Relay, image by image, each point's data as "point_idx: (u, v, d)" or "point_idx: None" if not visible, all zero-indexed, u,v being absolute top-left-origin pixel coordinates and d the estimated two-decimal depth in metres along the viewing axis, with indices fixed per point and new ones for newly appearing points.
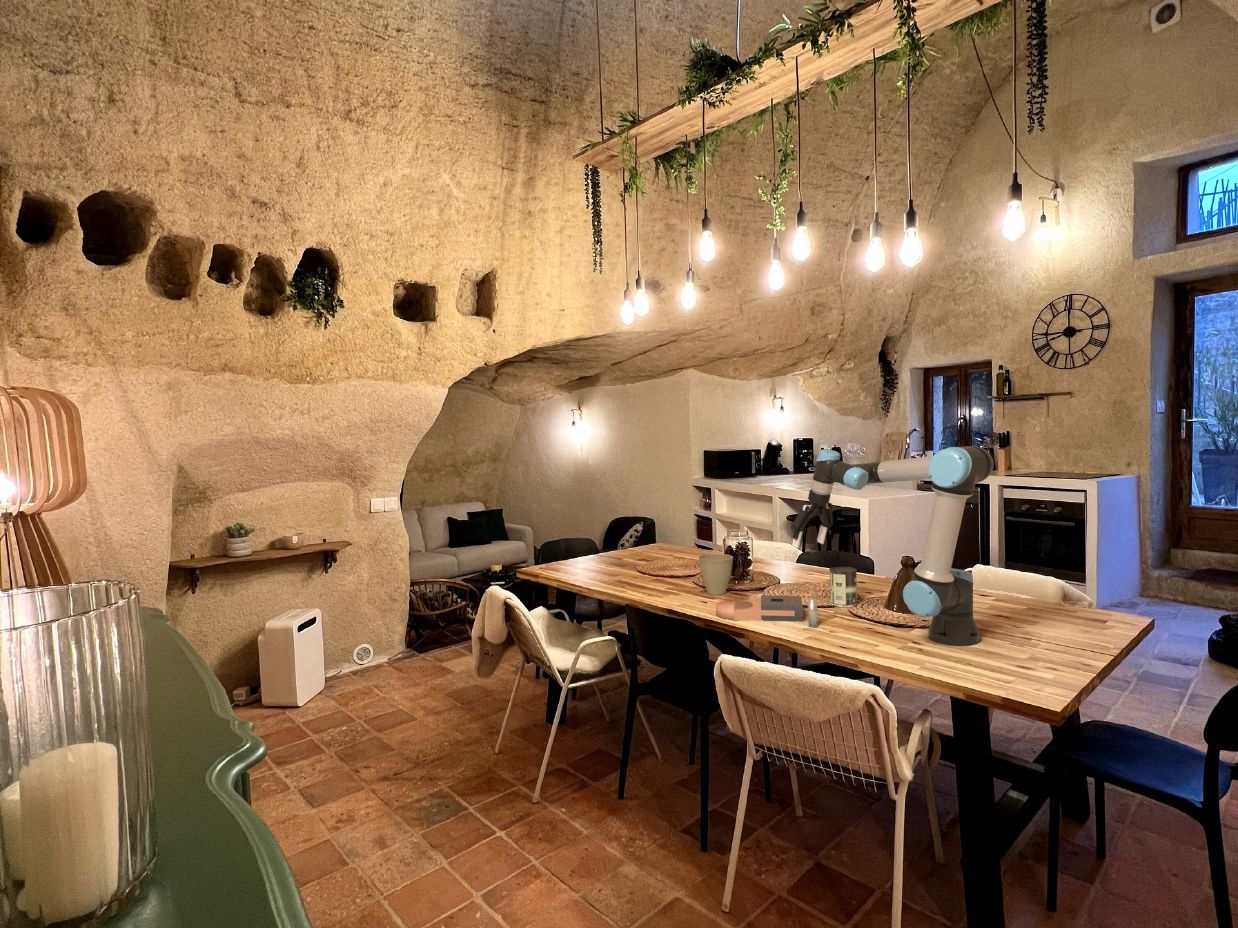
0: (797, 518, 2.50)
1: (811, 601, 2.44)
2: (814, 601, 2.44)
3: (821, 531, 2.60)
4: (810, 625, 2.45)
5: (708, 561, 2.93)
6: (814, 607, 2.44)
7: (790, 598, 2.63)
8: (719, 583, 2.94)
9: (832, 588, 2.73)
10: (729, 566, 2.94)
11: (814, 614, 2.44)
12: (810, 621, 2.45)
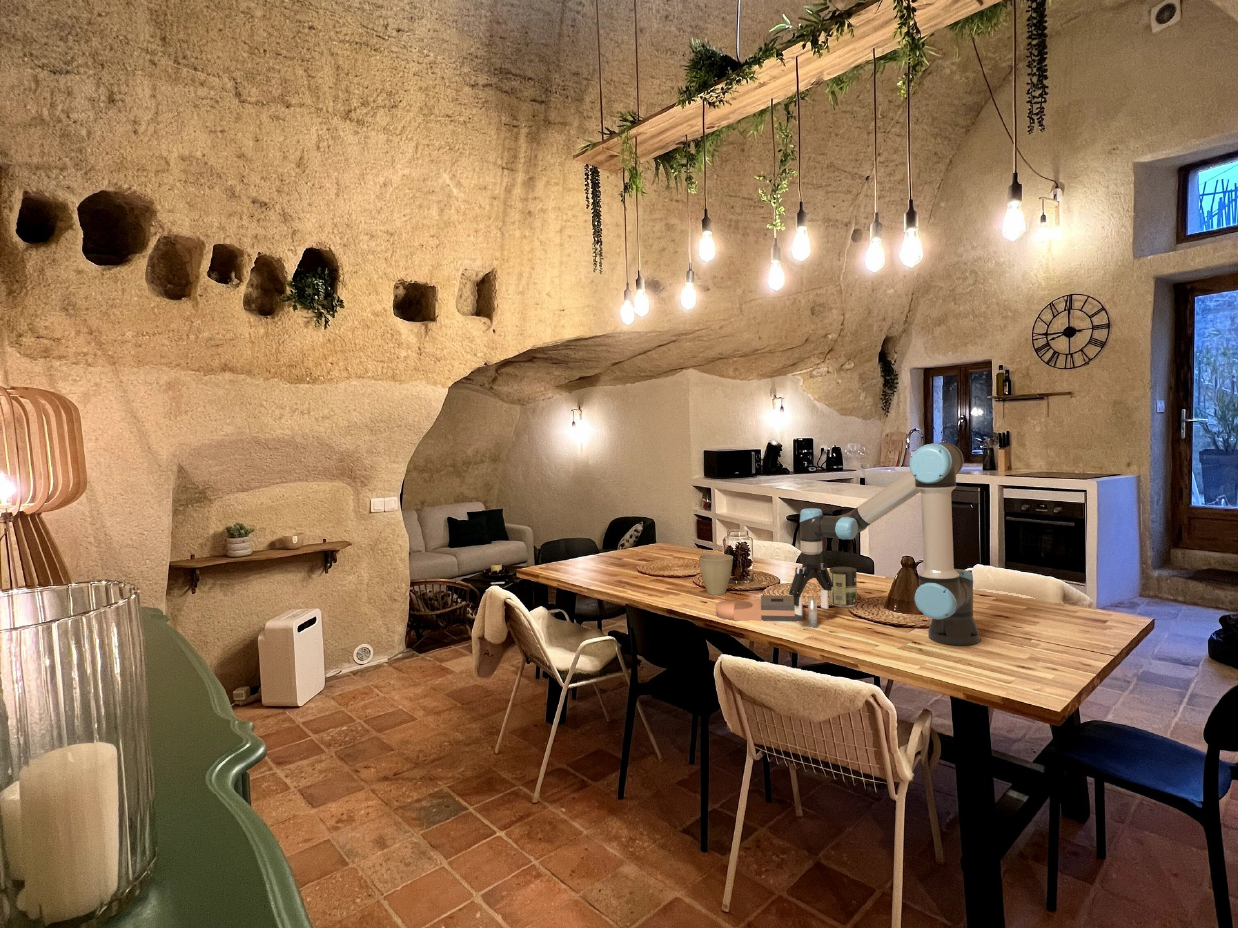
0: (793, 583, 2.41)
1: (811, 601, 2.44)
2: (814, 601, 2.44)
3: (822, 595, 2.50)
4: (810, 625, 2.45)
5: (708, 561, 2.93)
6: (814, 607, 2.44)
7: (790, 598, 2.63)
8: (719, 583, 2.94)
9: (832, 588, 2.73)
10: (729, 566, 2.94)
11: (814, 614, 2.44)
12: (810, 621, 2.45)
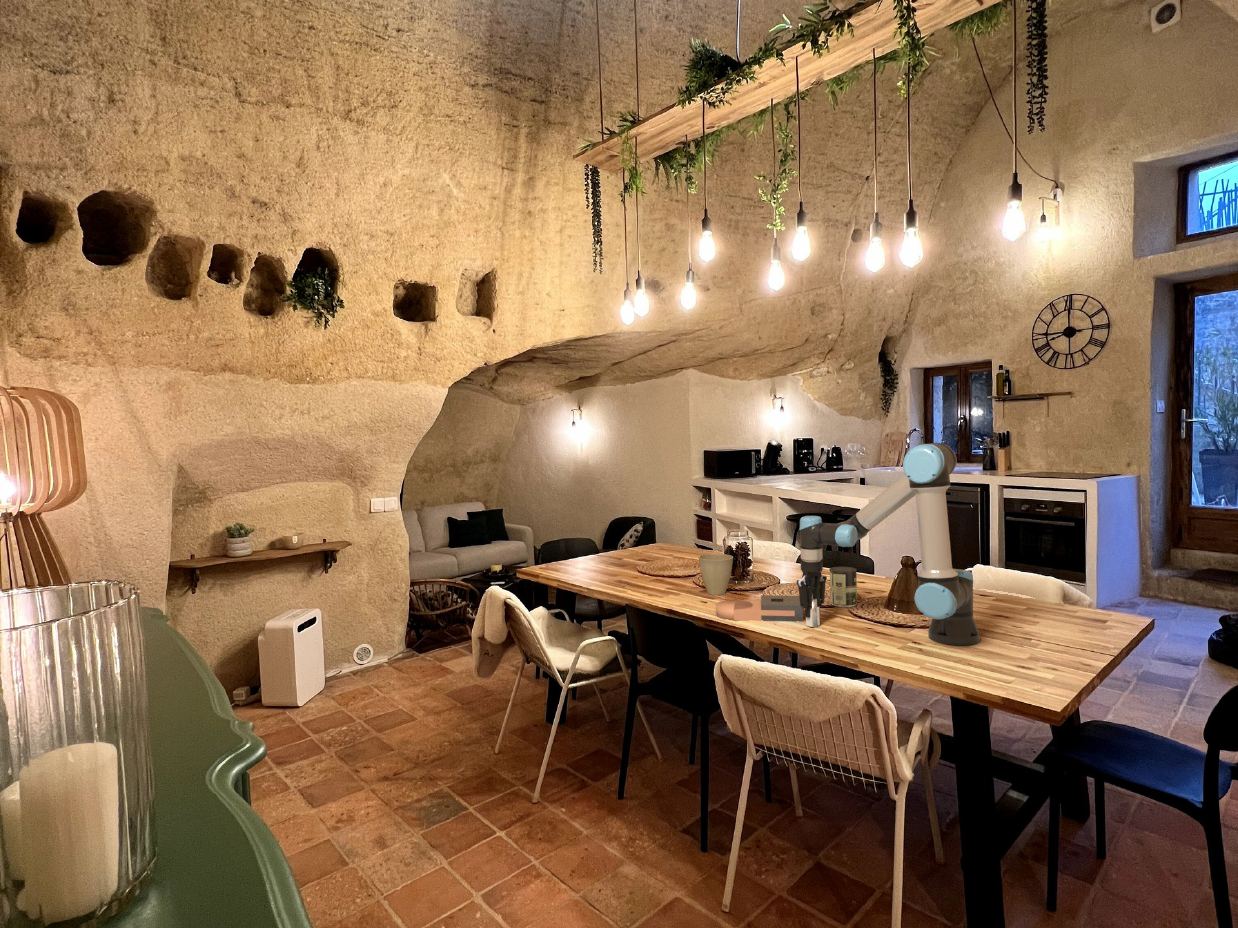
0: (800, 596, 2.43)
1: None
2: (814, 601, 2.44)
3: None
4: None
5: (708, 561, 2.93)
6: (814, 607, 2.44)
7: (790, 598, 2.63)
8: (719, 583, 2.94)
9: (832, 588, 2.73)
10: (729, 566, 2.94)
11: (814, 614, 2.45)
12: None
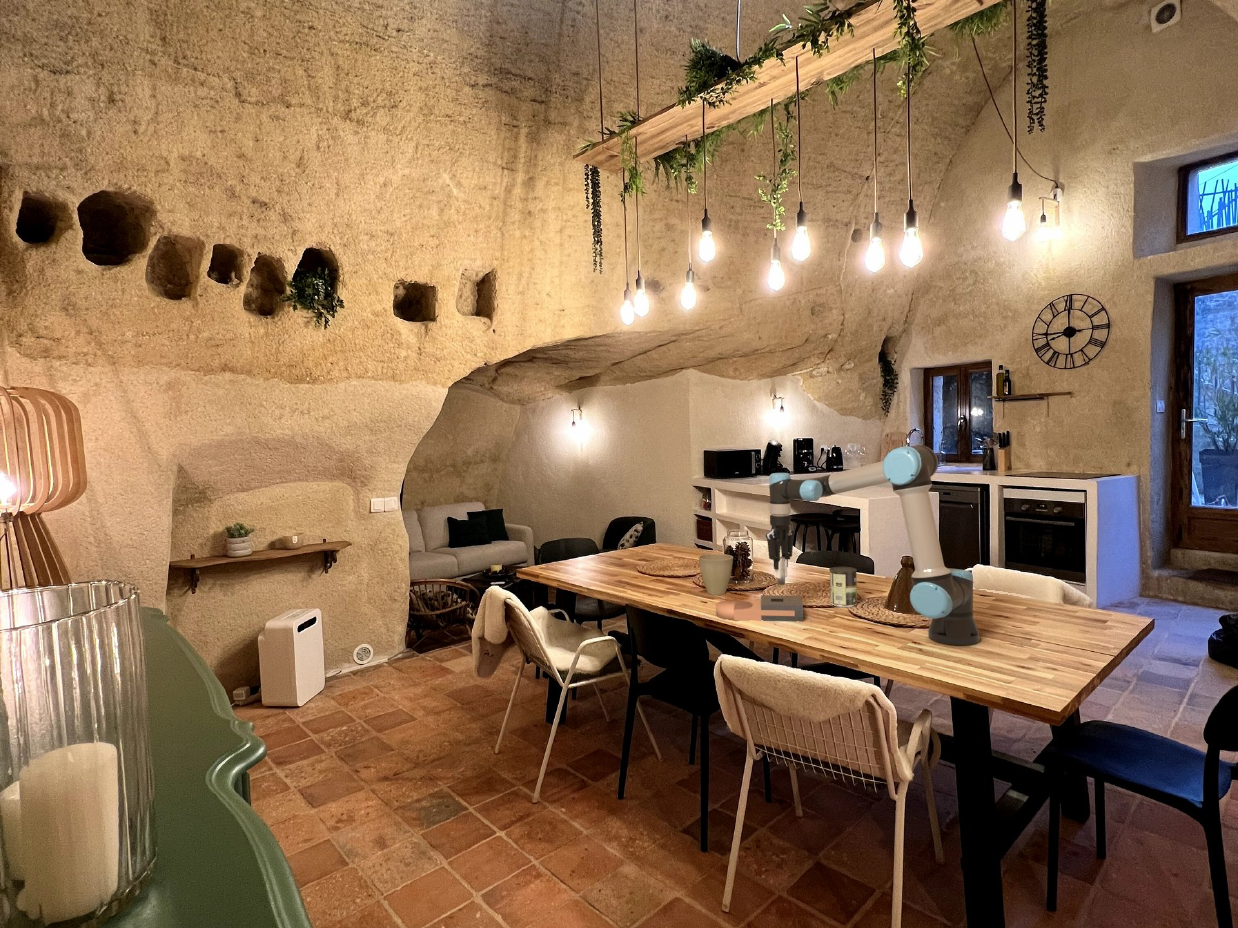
0: (769, 548, 2.55)
1: None
2: (782, 559, 2.56)
3: None
4: (778, 582, 2.57)
5: (708, 561, 2.93)
6: (782, 565, 2.57)
7: (790, 598, 2.63)
8: (719, 583, 2.94)
9: (832, 588, 2.73)
10: (729, 566, 2.94)
11: (782, 572, 2.57)
12: (778, 578, 2.57)
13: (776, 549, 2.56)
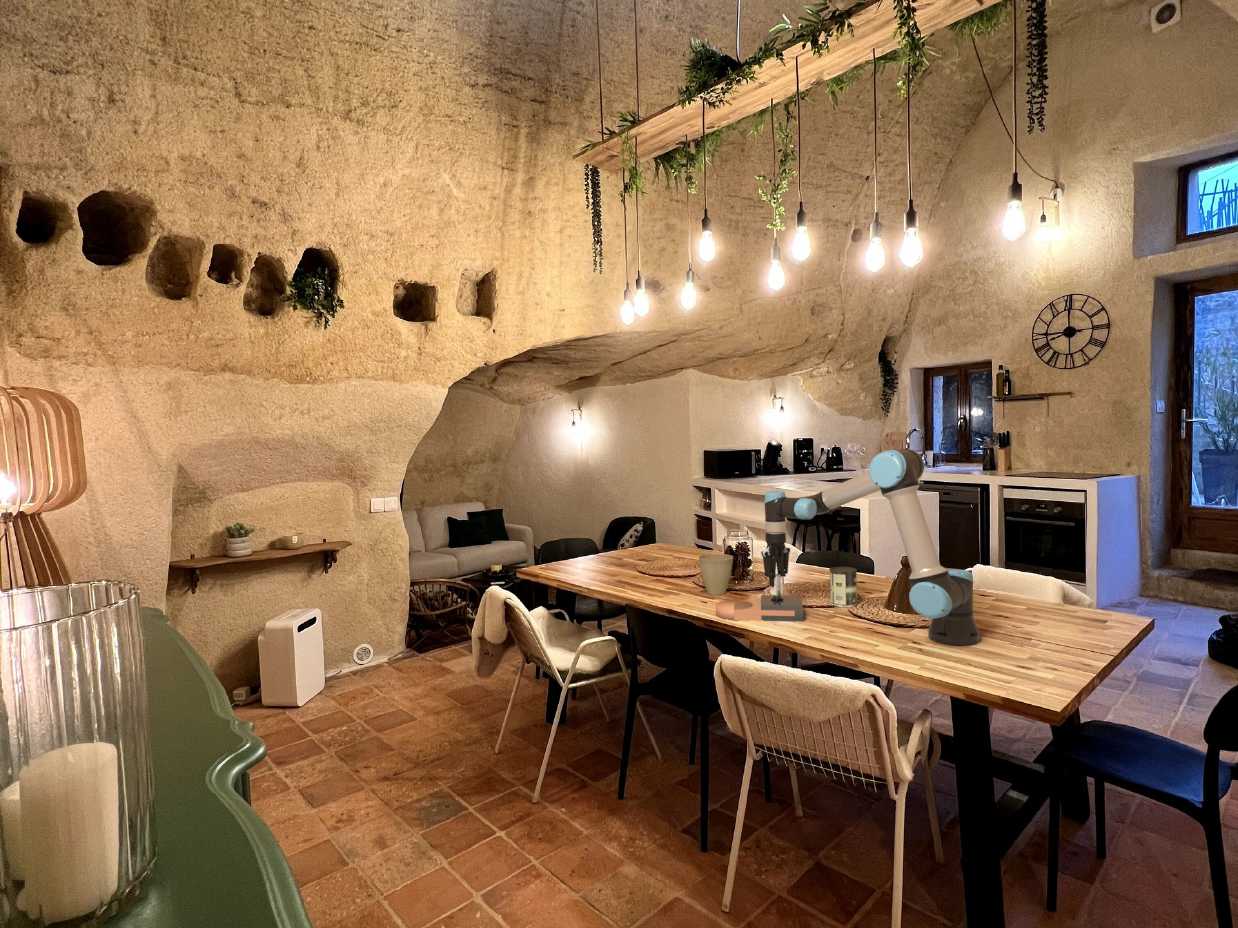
0: (765, 566, 2.58)
1: (775, 576, 2.59)
2: (778, 576, 2.59)
3: None
4: (774, 599, 2.60)
5: (708, 561, 2.93)
6: (778, 582, 2.59)
7: (790, 598, 2.63)
8: (719, 583, 2.94)
9: (832, 588, 2.73)
10: (729, 566, 2.94)
11: (778, 589, 2.59)
12: (774, 595, 2.60)
13: (772, 566, 2.58)
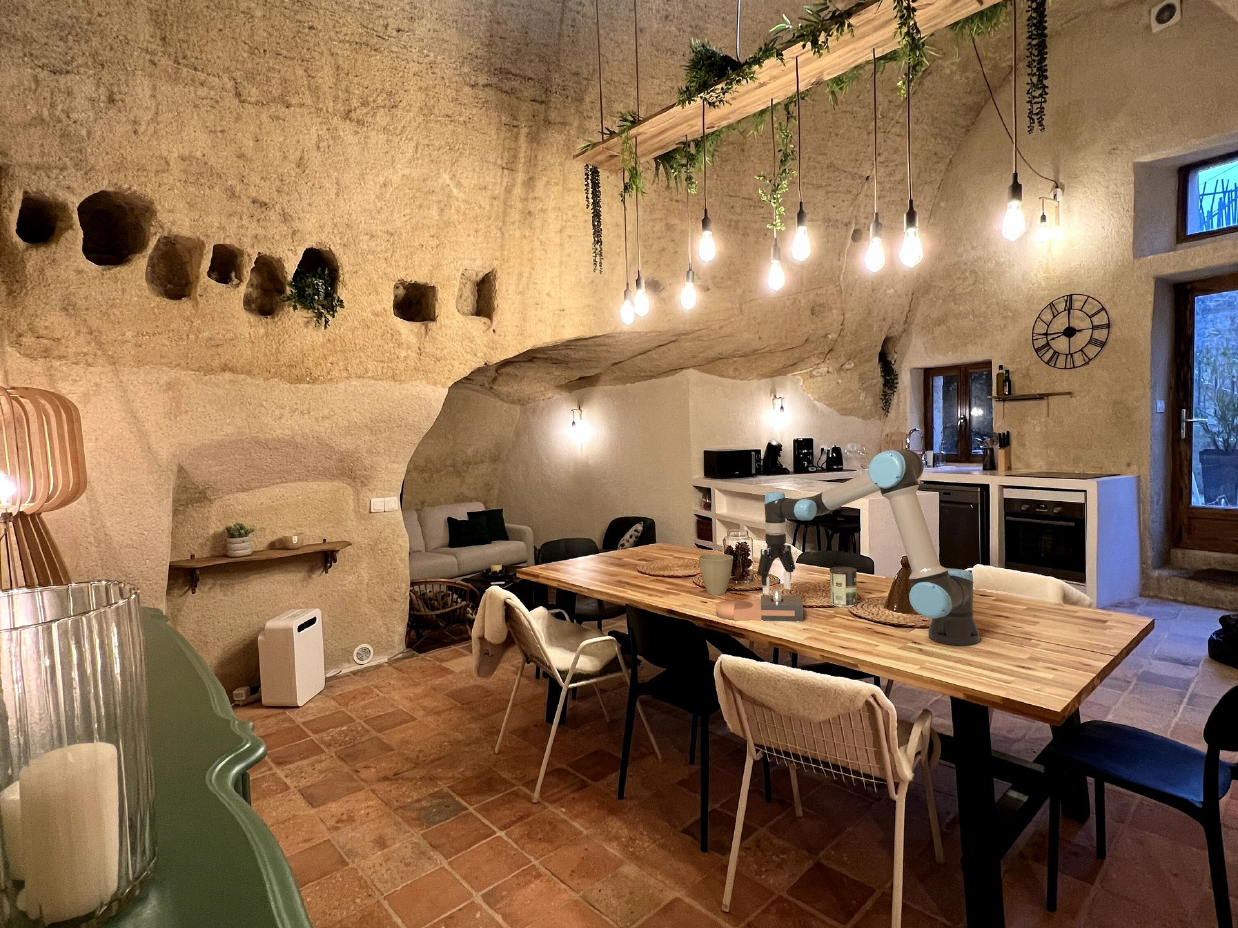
0: (760, 564, 2.56)
1: (776, 592, 2.60)
2: (778, 592, 2.59)
3: (785, 577, 2.64)
4: None
5: (708, 561, 2.93)
6: (778, 597, 2.59)
7: (790, 598, 2.63)
8: (719, 583, 2.94)
9: (832, 588, 2.73)
10: (729, 566, 2.94)
11: None
12: None
13: (767, 565, 2.57)
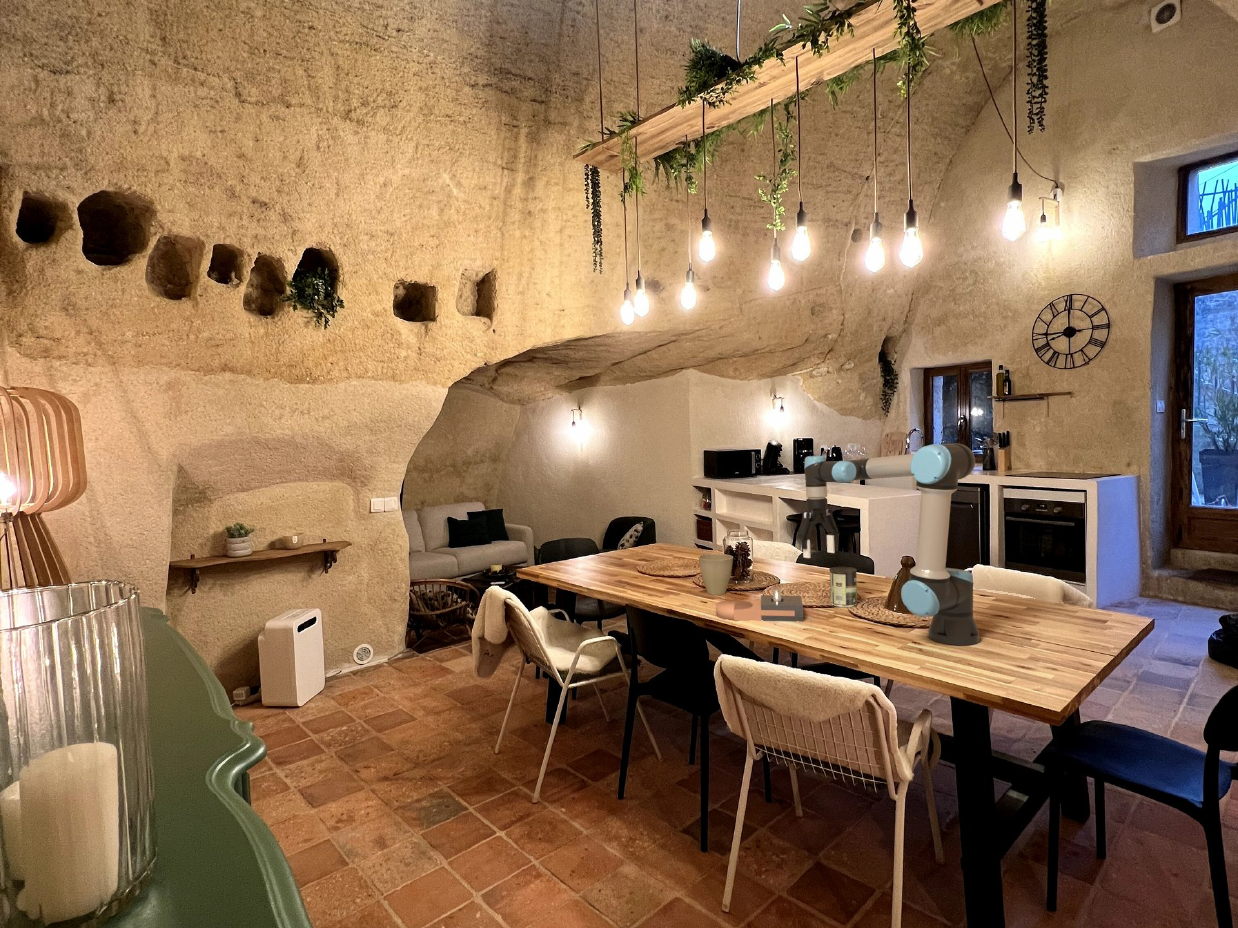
0: (801, 527, 2.51)
1: (776, 592, 2.60)
2: (778, 592, 2.59)
3: (828, 541, 2.60)
4: None
5: (708, 561, 2.93)
6: (778, 597, 2.59)
7: (790, 598, 2.63)
8: (719, 583, 2.94)
9: (832, 588, 2.73)
10: (729, 566, 2.94)
11: None
12: None
13: (808, 529, 2.52)
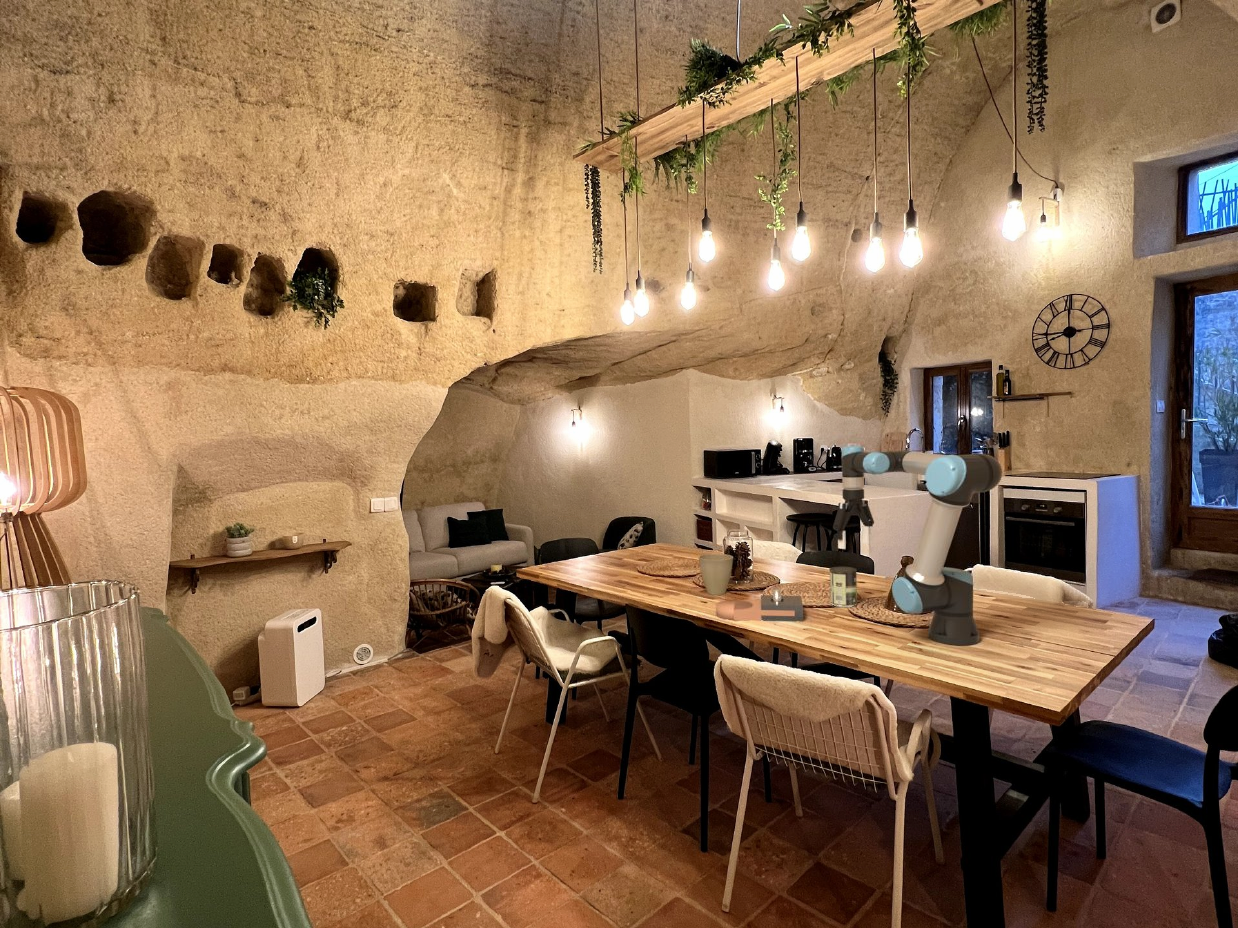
0: (837, 517, 2.48)
1: (776, 592, 2.59)
2: (778, 592, 2.59)
3: (864, 532, 2.57)
4: None
5: (708, 561, 2.93)
6: (778, 597, 2.59)
7: (790, 598, 2.63)
8: (719, 583, 2.94)
9: (832, 588, 2.73)
10: (729, 566, 2.94)
11: None
12: None
13: (844, 520, 2.49)
